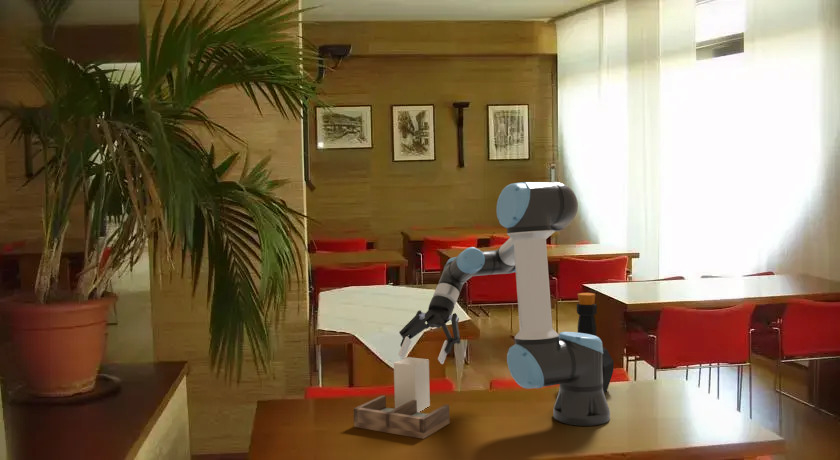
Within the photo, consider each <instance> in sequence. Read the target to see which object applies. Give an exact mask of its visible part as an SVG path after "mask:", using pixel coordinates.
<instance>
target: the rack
mask: <svg viewBox="0 0 840 460" xmlns="http://www.w3.org/2000/svg"><path fill="white" fill-rule="evenodd" d="M386 401H387V398H386V395H380V396H378V397H376V398H374V399H372V400H369V401H367V402H365V403H363V404H360V405H358V406H356V407H354V408H353V427H354V428H358V429H363V430H370V431H375V432H376V431H377V432H381V433H386V434H387V433H388V434H393V435H394V434H395V435H400V436H404V437H405V436H406V437H410V438H418V439H422V440H424V439H426V438H427V437H429V436H431V435H432V434H434V433H436V432H437V431H439V430H441V429H442V428H444V427H446V426H447V425H449V424H450V423H451V421H450V405H449V404H446V403H445V404H443V405H441V406H440V407H438V408H436V409H434V410H432V411H431V412H429V413H425V412H417V400H412V401H410V402H408V403H406V404H404V405H402V406H400V407H398V408H396V409H395V408H391V407H387V402H386Z"/></svg>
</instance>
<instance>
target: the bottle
mask: <svg viewBox="0 0 840 460" xmlns="http://www.w3.org/2000/svg"><path fill="white" fill-rule="evenodd" d="M577 298H578V299H577V300H578V303H576V313H577V315H578V322H577V333H585V334H590V335H594V336H597V323H596V317H595V315H597V314H598V313H597V311H598V310H597V309H598V307H597V306H598V305H597V303H595V301H596V293H593V292H581V293H577ZM602 348H603V392H604V393H606V392H607V391H608V390H609V386H610V382H611V380H612V377H613V373H614V363H615V361H614V360H613V358H612V357H611V354H610V353H609V351H608V349H607V348H605V347H604V346H602Z"/></svg>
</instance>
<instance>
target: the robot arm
mask: <svg viewBox="0 0 840 460" xmlns="http://www.w3.org/2000/svg"><path fill="white" fill-rule="evenodd" d="M578 208H579V203H578V199H577V196H576V194H575V192H574V191H573V189H571V187H569V185H567V184H564V183H562V182H559V181H549V182H548V181H534V182H533V181H522V182H514V183H510V184H508V185H506V186H505V187H503V189H502V190H501V192H500V194H499V196H498V199H497V202H496V217H497V220H498V221H499V222H498V223H499V224H500V225H501V226H502V227H504V228H506V235H507V236H508V237H509V238H508V239H507V240H506V241H505V242H504V243H503V244H502V245H501V246H499V247H498V248H497V249H495V250H483V251H482V250H480V249H479V248H476V247H474V246H470V247H466V248H465V249H464V250H463V251H461V252H460V253H459V254H458V255H457V256H454V257H450V258H449V259H448V260H447V261H446V264H444V267H443V270H442V274H441V276H440V279H439V280H438V284H437V285H436V287H435V291H434V292H433V295H432V298H431V300H430V303H429V305H428V308H427V309H428V310H427V311H426V312H422V310H421V309H419V310H417V312H416V314H415V315H414V316H413V318H411V320H410V321H408V323H406V325H405V326H404V327H403V328H402V329H401V330H399V335H400V336H401V338H402V340H401V342H400V350H399V352H398V354H397V355H398V356H399V358H400V360H402V359H405V358H406V355H407V353H408V350H409V348H410V346H411V343H412V340H411V339H413V338H415V337H416V336H417V335H419V334H420V333H421V332H423V331H424V330H425V329H426V330H427V329H429V328H436V329H440V328H442V331H443V332H444V335H445V336H446V339H445V340H444V342H443V344H442V346H441V350H440V352H439V355H438V357H437V361H438V362H439V363H440V364H441V365H444V363H445V360H446V358H447V355H448V354H450V353H451V351H452V350H453V349H452V348H453V346H454V345H455V344H457V345H459V344H460V343H461V337H460V329H459V322H460V318H459V316H458V314H457V313H455V312H454V309H455V306H456V304H457V301H458V298H459V296H460V294H461V291H462V288H463V286H464V284H465V283H466V282H467V281H468V280H469V279H471V278H472V277H477V276H478V277H480V276H488V275H489V276H490V275H491V276H492V275H507V274H509V275H510V274H513V273H515V281H516V295H517V307H518V308H517V309H518V321H519V323H518V324H519V330H518V332H517V333H516V335H514V344H513V345H511V346H510V347H509V348H508V351H507V354H506V355H507V356H506V362H507V366H508V367H507V368H508V370H509V373H510V375H511V377H512V378H513V380H514V381H515V383H516V384H517V385H519V386H520V387H521V388H523V389H541V388H544V387H551V386H555V385H559V390H558V394H557V396H556V399H555V402H554V405H553V419H554V420H556V421H557V422H558V423H559V422H560V423H562V424H566V425H570V426H578V427H580V426H582V427H583V426H585V427H590V426H600V425H603V424H605V423H608V422H610V419H611V411H610V407H609V404H608V401H607V398H606V395H605V392H603V348H602V347H603V341H602V339H601V338H600V337H599V336H597V335H596V336H594V335H590V334H585V333H578V331H577V332H576V331H562V332H559V333H558V332H557V331H556V330H555V329H554V327H553V319H552V318H553V316H552V304H551V289H550V278H549V263H548V249H547V247H548V246H547V239H548V238H549V237H551V236H552V235H553V234H554V233H555V232H561V231H563V230H564V229H566V228H567V227H568V226H569V225H570V224H571V223H573V221H574V219H575V218H576V216H577V214H578ZM453 312H454V313H453ZM448 322H451V327H452V334H453V337H452V334H451V333H450V330H449V328H448V326H447V323H448Z"/></svg>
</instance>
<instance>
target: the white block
mask: <svg viewBox="0 0 840 460" xmlns="http://www.w3.org/2000/svg"><path fill="white" fill-rule="evenodd" d="M393 383H394V385H393V386H394V389H393V390H394V409H396V408H398V407H400V406H402V405H404V404H406V403H408V402H410V401H412V400H417V412H419V413H421V412H423V411H425V410H426V409H425V408H427V407H429V406H430V407H431V398H430V397H431V396H430V392H431V391H430V390H431V389H430V360H429V359H428V358H420V357H419V358H418V357H413V356H412V357H411V356H407V357H405V358H404V359H400V360H397V361H395V362H393ZM430 407H429V408H430ZM424 409H425V410H424ZM427 409H428V408H427ZM422 410H423V411H422ZM420 411H421V412H420Z"/></svg>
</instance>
